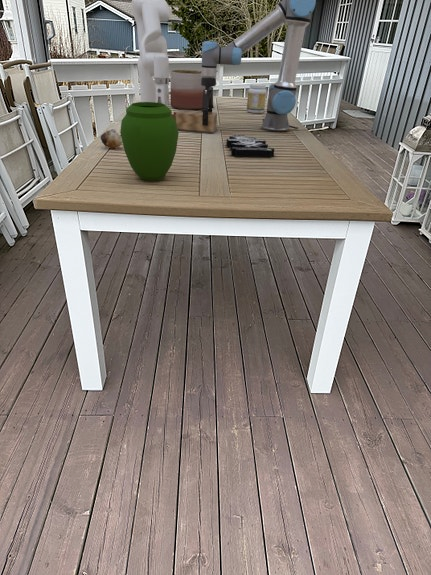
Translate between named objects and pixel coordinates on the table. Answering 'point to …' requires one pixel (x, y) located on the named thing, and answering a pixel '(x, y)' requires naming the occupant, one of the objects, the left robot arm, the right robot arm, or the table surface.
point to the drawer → (174, 115)
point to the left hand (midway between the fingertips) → (162, 119)
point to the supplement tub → (256, 98)
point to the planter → (186, 89)
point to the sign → (248, 147)
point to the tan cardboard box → (196, 121)
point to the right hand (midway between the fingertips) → (207, 123)
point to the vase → (149, 139)
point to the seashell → (111, 139)
